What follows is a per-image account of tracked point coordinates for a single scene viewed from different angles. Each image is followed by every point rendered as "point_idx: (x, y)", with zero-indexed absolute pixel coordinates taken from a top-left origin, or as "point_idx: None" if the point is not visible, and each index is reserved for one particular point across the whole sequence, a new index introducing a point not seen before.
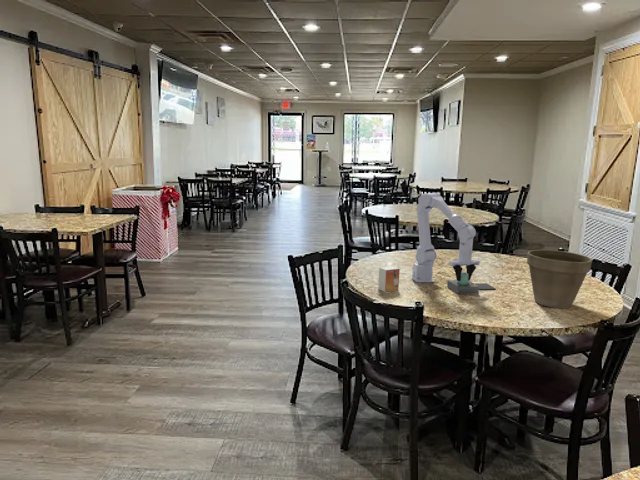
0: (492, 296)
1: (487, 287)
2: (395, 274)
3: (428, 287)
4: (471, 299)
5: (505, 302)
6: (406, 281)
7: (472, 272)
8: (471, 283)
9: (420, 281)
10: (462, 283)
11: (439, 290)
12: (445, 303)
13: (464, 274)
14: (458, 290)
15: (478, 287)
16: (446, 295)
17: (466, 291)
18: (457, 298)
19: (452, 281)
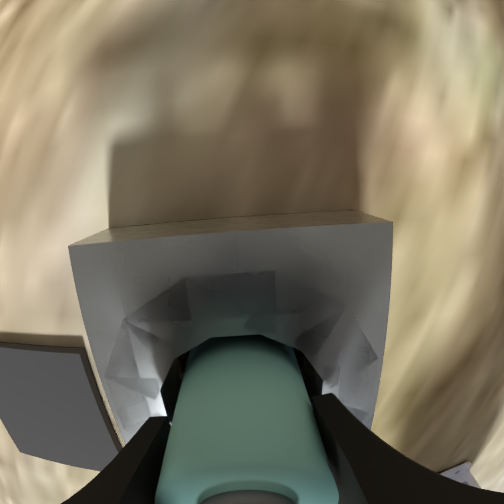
0: (16, 149)
1: (9, 378)
2: None
3: (473, 395)
4: (268, 34)
5: (12, 8)
6: (491, 461)
7: (79, 499)
8: (132, 388)
9: (454, 472)
10: (276, 364)
11: (451, 337)
12: (494, 14)
13: (257, 483)
14: (368, 216)
15: (79, 243)
16: (463, 187)
17: (255, 220)
18: (401, 82)
19: None
